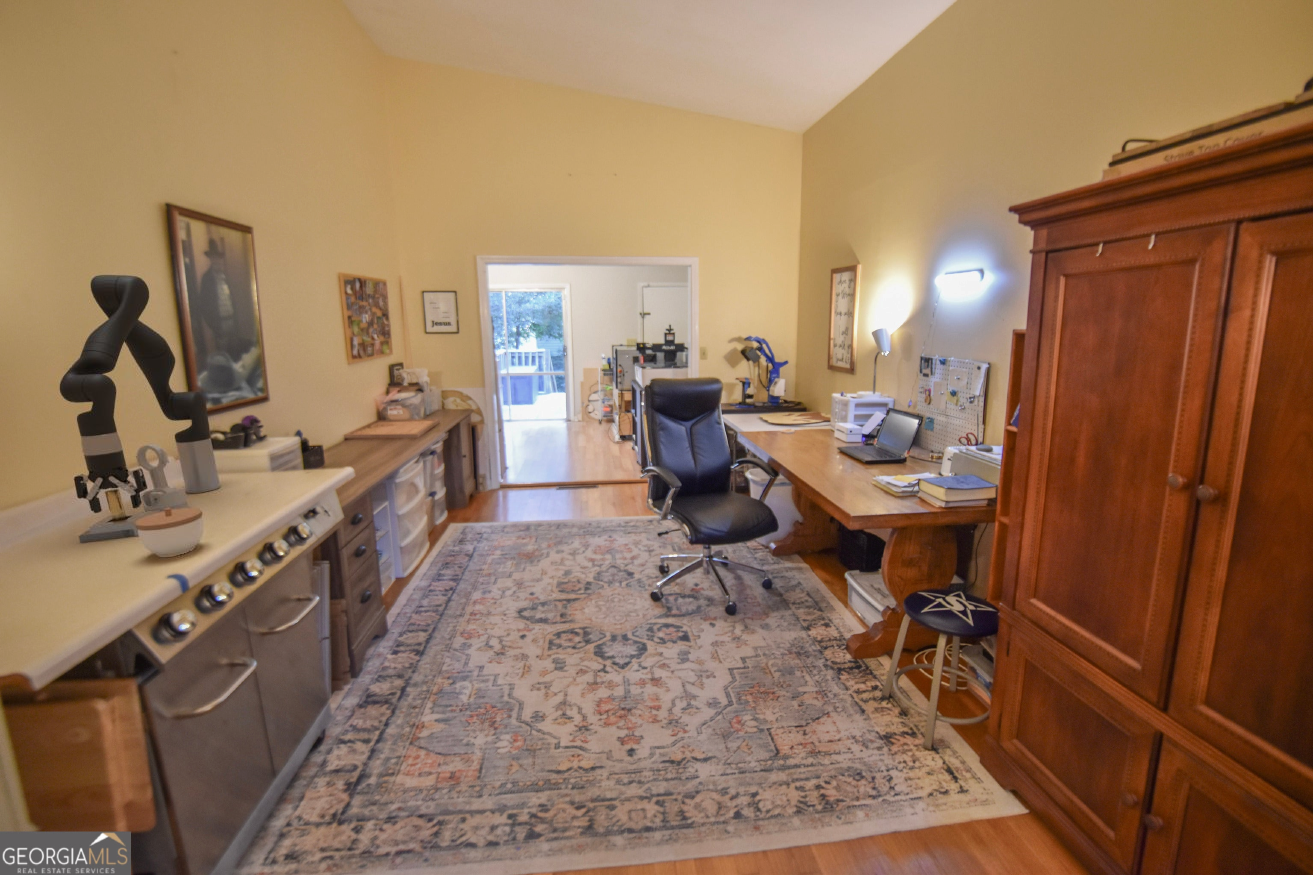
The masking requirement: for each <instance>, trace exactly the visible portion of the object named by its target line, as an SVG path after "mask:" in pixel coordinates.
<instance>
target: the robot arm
mask: <svg viewBox="0 0 1313 875" xmlns="http://www.w3.org/2000/svg"><path fill="white" fill-rule="evenodd" d="M90 291H91V293H92V297H93V299H94V300H95V302H96V303H97V305H98V307H99V308H100V309H101V311H102V312H103V314H104V315H105V316H106V317H107V318H108V319H107V320H105V321H104V322H103V323H101V324H100V325H99V326H98V327H97V328H95V329H94V330H93V331H92V332H90V334H89V336H88V337H87V338H86V340H85V342H84V345H83V348H82V350H81V354H80V356H79V358H78V359H77V360H76V361H75V362H74V363H73V364H72V366H71V367H70V368H68V370H67V371H66V372H65V374H64V375H63V376H62V378H61V380H60V383H59V393H60V395H61V396H62V397H63V399H64V400H65V401H67V402H70V403H76V404H77V403H82V404H83V403H92V405H91V409H90V410H88V411H84V412H81V413H79V414H78V415H77V416H76V422H77V428H78V431H79V435H80V439H81V440H80V442H81V448H82V450H81V451H82V453H83V457H84V461H85V465H86V470H87V471H88V474H83V473H82V474H78V475H76V476H74V478H73V480H74V485H75V486H74V487H75V490H76V496H77V498H78V499H85V500H87V501H88V504H89V508H90V511H92V512H93V514H98V513H101V512H102V510H103V508H102V505H101V501H100V498H99V497H98V495H99V494H100V492H101V491H104V490H110V489H119V488H120V489H122V490H123V491H126V493H128V494H130V495H129V498H130V502H131V506H132V509H138V508H139V507H140V506H141V505H142V504H143V502H142V497H141V493H143V491H144V492H145V491H147V490H148V485H147V484H148V483H147V481H146V478H145V474H144V470H143V468H137V469H135V470H129V469H128V468H127V463H126V458H125V454H124V449H123V447H122V441H121V438H120V436H119V433H118V430H117V425H116V422H115V421H116V420H115V409H116V408H115V407H116V397H117V386H116V384H115V382H114V380H112V379H111V377H110V376H108V375H106V374H108V373H110V372H112V371H113V370H114V369H115V368H116V365H117V362H118V359H119V357H120V354H121V351H122V349H123V346H124V343H125V345H126V347H127V348H128V350H129V352H130V355H131V356H132V358H133V359H134V360H135V361H134V362H135V363H136V364H137V366H138V367H139V368H140V370H141V372H142V374H143V376H144V377H145V378H146V380H147V382H148V384H149V386H150V388H151V389H152V392H153V394H154V395H155V396H154V397H155V399H156V401H157V403H158V405H159V407H160V409H161V412H162V413H163V415H164V416H165V418H167V419H168V420H169V421H172V422H173V421H189V420H190V421H191V424H190V425H189V427H187V428H185V429H183V430H180V431H177V432H176V433H175V434H174V439H175V440H174V441H175V444H176V449H177V450H176V451H177V454H178V460H179V463H180V469H181V473H182V478H183V482H184V489H185V493H187V494H199V493H205V492H210V491H214V490H217V489H219V488H221V483H220V478H219V473H218V468H217V467H218V466H217V463H216V458H215V454H214V453H215V452H214V448H213V444H212V439H211V434H210V433H211V432H210V423H209V416H208V409H207V407H208V406H207V401H206V399H205V397H204V395H203V394H202V393H201V392H200V391H197V390H195V391H194V390H193V391H191V390H190V391H179V392H178V391H177V392H174V391H173V390H172V388H171V386H170V379H171V376H172V373H173V372H174V370H175V366H176V357H175V355H174V353H173V351H172V349H171V347H170V345H169V343H168V342H167V340H166V339H165V338H164V337H163V336H162V335H161V334H160V333H158V332H157V331H156V330H154V329H153V328H152V327H149V326H148V325H147V324H145V323H143V322H142V321H141V320H139V319H140V317H141V316H142V314H143V313H144V310H146V307H147V305H148V302H149V300H150V290H149V286H148V285H147V282H146V281H144V279H142V277H139V276H136V275H125V274H124V275H123V274H122V275H121V274H99V275H95V276H94V277H93V278H92V279H91V281H90ZM129 476H130V477H131V478H132V479H134V483H135V484H134V483H133V482H132V481H131V480H130V479H129ZM88 481H90V482H91V483H93V485H92V486H91V488H90V489H88V485H87V483H88Z"/></svg>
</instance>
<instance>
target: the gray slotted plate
mask: <svg viewBox="0 0 1313 875" xmlns="http://www.w3.org/2000/svg"><path fill="white" fill-rule="evenodd" d="M183 508H185V507H183ZM174 509H182V508H174ZM174 509H171V510H174ZM163 511H164V510H157V511H149V512H145V511H140V512H133V513H125V515H126V518H127V519H126V520H123V521H115V522H113V521H112V517H111V515H110V516H109V515H108V516H106V517H105V518H103V519H101V520H99V521H97V522H96V523H93V524H92V525H90V526H89V529H88V530H86V531H84V532H83V533H81V534H80V535H78V539H79V543H80V544H84V543H91V542H100V541H106V540H108V541H109V540H113V539H114V540H115V539H122V538H130V537H139V535H138V531H137V529H136V526H135V522H136V521H137V520H139V519H141V518H143V517H146V516H149V515H152V514H155V513H159V512H163Z"/></svg>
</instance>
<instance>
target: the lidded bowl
mask: <svg viewBox="0 0 1313 875" xmlns="http://www.w3.org/2000/svg"><path fill="white" fill-rule="evenodd" d="M203 518H204V517H203V511H202V509H200V508H196V507H188V508H182V509H174V510H171V508H166V509H164V511H163V512H159V513H155V514H152V515H149V516H146V517H143V518H141V519H139V520H137V521H136V522H135V526H136V529H137V531H138V535H139V536H138V538H139V540H140V543H141V544H142V545H143V547H144V548H145V549H146V550H147V551H148V552H150V553H151V554H154V555H157V556H158V558H172V557H177V555H178V556H181V555H180V554H182V555H184V553H185V554H187V552H188V553H190V552H192V551H193V549H194V548H195V549H196V546H197V545H198V544H199V543H200V542H201V539H202V537H203V534H204V520H203ZM195 549H194V550H195ZM189 551H190V552H189Z"/></svg>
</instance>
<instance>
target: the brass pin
mask: <svg viewBox="0 0 1313 875" xmlns="http://www.w3.org/2000/svg"><path fill="white" fill-rule="evenodd" d="M104 494H105V499H106V501H107V506H108V508H109V512H110V516H111V517H112V521H113V522H115V521H123V520H126V519H127V518H126V515H125V514H126V512H125V508H124V504H123V500H122V496H121V492H120V489H119V488H111V489H106V490H105V491H104Z"/></svg>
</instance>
